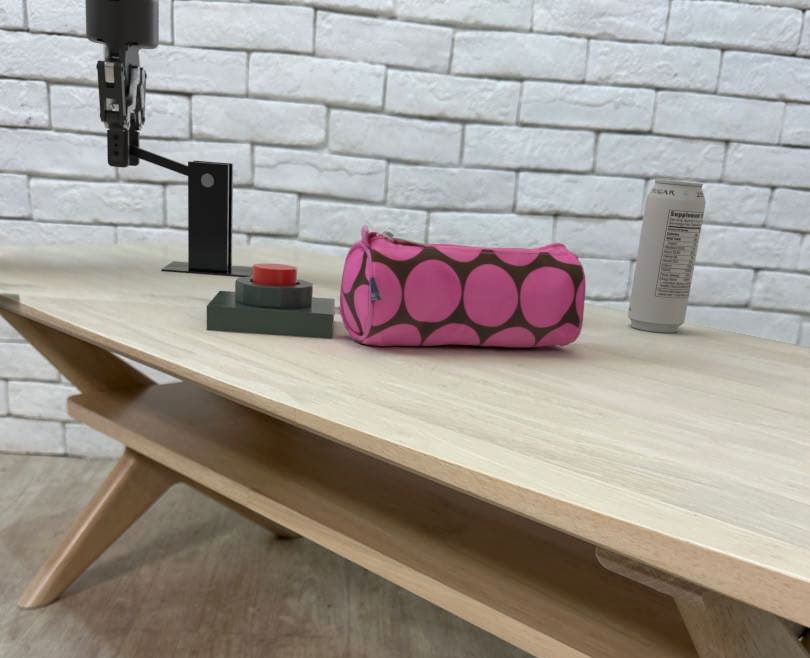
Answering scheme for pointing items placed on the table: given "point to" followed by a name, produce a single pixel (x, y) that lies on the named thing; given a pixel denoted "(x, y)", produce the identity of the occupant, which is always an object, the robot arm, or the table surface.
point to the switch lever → (157, 159)
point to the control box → (272, 310)
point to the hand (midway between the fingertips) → (124, 165)
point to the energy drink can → (666, 255)
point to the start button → (274, 274)
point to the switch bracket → (210, 222)
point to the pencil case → (460, 294)
